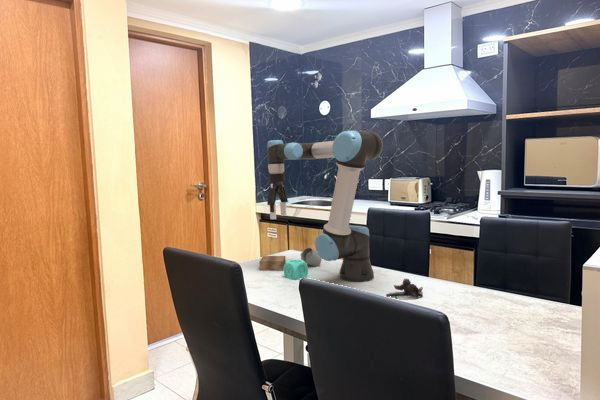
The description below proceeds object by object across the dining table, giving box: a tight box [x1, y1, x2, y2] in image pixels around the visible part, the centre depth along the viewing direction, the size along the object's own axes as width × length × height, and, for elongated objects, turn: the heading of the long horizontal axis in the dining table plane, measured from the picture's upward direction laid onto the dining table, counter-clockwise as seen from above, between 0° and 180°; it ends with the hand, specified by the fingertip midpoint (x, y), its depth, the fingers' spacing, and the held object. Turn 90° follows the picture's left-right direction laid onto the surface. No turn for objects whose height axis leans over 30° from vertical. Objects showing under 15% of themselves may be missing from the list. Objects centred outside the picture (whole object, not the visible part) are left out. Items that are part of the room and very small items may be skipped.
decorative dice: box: [282, 258, 309, 281], centre depth 191 cm, size 8×8×8 cm
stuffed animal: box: [385, 278, 424, 301], centre depth 164 cm, size 12×10×12 cm
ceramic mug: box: [299, 246, 323, 267], centre depth 212 cm, size 11×8×8 cm
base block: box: [259, 255, 287, 272], centre depth 207 cm, size 11×11×6 cm
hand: (278, 217), depth 206 cm, fingers open, 13 cm apart
